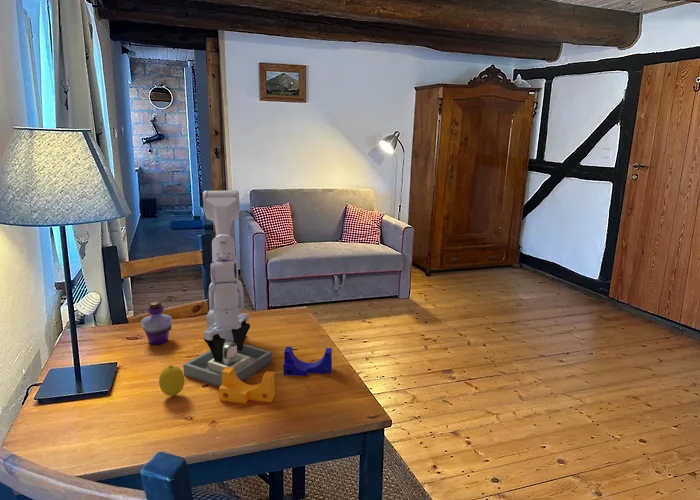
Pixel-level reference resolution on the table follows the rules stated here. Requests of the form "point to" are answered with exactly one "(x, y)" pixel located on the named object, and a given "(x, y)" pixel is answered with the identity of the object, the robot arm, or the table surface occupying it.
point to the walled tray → (212, 371)
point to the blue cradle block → (306, 364)
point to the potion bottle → (157, 324)
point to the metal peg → (229, 354)
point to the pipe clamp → (246, 388)
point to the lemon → (171, 380)
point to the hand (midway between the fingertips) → (228, 355)
